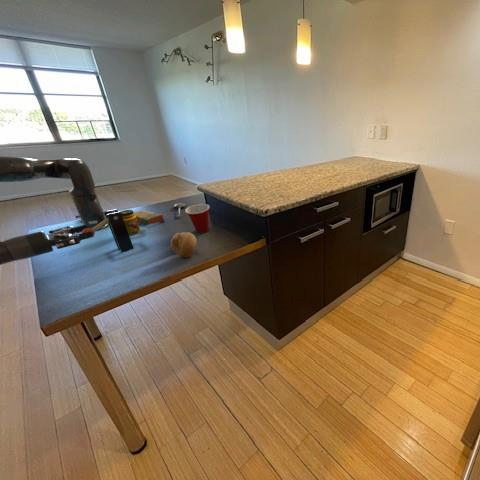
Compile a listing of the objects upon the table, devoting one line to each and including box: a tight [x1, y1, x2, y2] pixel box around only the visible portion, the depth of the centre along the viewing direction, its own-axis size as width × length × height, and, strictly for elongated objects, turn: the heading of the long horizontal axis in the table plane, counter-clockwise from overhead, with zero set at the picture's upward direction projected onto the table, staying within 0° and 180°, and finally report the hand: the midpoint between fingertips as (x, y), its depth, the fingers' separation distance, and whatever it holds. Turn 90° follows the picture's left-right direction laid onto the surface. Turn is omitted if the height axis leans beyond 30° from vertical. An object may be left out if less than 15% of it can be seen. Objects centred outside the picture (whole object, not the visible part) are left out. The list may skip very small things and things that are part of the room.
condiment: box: [120, 209, 142, 236], centre depth 119 cm, size 7×8×12 cm
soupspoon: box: [174, 202, 187, 219], centre depth 150 cm, size 22×3×7 cm
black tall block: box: [103, 208, 135, 253], centre depth 105 cm, size 12×9×18 cm
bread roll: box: [170, 231, 198, 258], centre depth 108 cm, size 10×15×8 cm, turn 25°
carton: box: [133, 209, 165, 226], centre depth 136 cm, size 8×16×4 cm, turn 64°
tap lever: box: [81, 211, 114, 236], centre depth 99 cm, size 13×4×4 cm, turn 138°
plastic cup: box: [184, 203, 210, 234], centre depth 125 cm, size 11×11×12 cm
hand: (90, 230), depth 98 cm, fingers open, 8 cm apart
